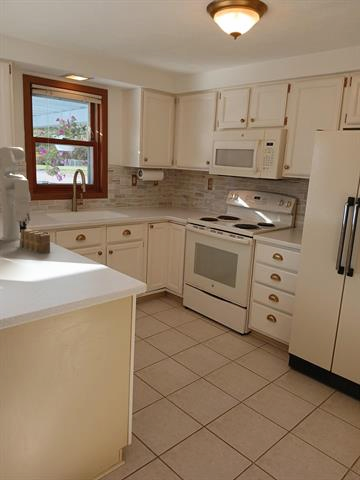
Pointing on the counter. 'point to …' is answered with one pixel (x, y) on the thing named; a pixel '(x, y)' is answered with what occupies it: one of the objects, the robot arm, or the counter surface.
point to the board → (32, 250)
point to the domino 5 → (44, 243)
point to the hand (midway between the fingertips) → (23, 232)
